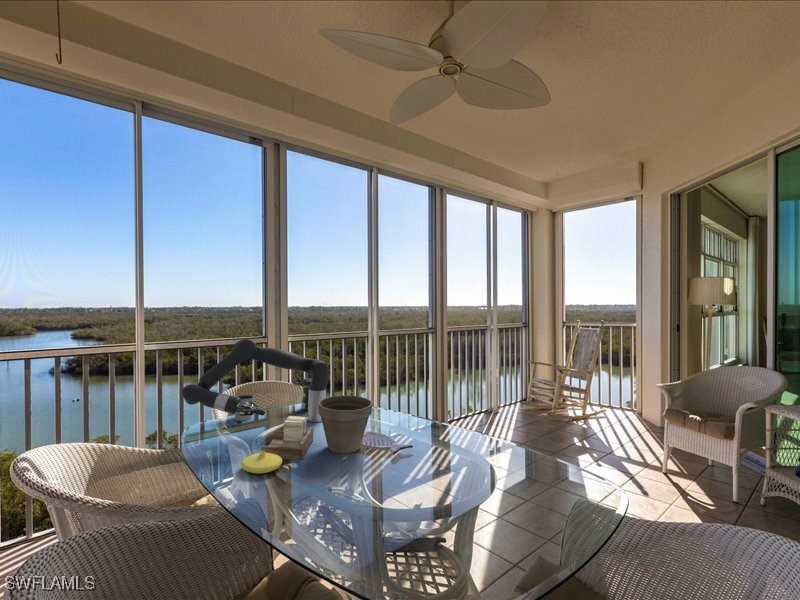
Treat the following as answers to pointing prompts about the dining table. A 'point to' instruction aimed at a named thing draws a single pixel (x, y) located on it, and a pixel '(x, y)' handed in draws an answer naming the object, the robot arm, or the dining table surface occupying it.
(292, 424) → the stacked wooden blocks
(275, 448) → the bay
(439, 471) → the dining table surface
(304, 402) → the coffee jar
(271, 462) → the yellow knobbed lid
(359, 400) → the plant pot
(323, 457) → the dining table surface
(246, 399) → the light blue cup
